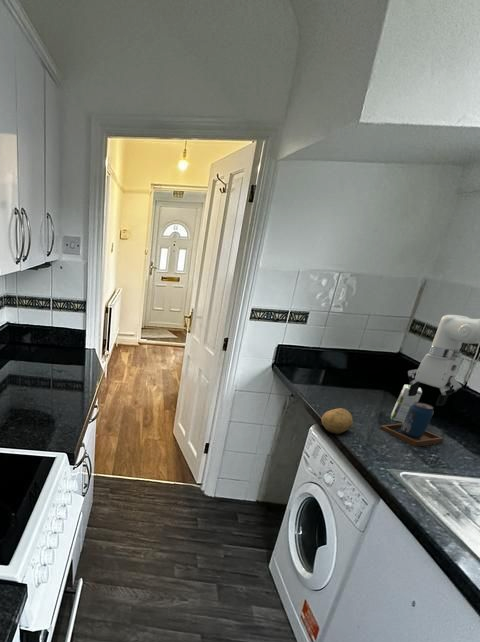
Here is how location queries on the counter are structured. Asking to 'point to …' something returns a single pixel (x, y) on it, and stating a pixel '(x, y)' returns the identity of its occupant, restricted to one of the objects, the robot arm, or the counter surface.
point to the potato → (337, 420)
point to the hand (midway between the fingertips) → (425, 400)
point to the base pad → (424, 440)
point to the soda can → (417, 420)
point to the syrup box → (404, 403)
